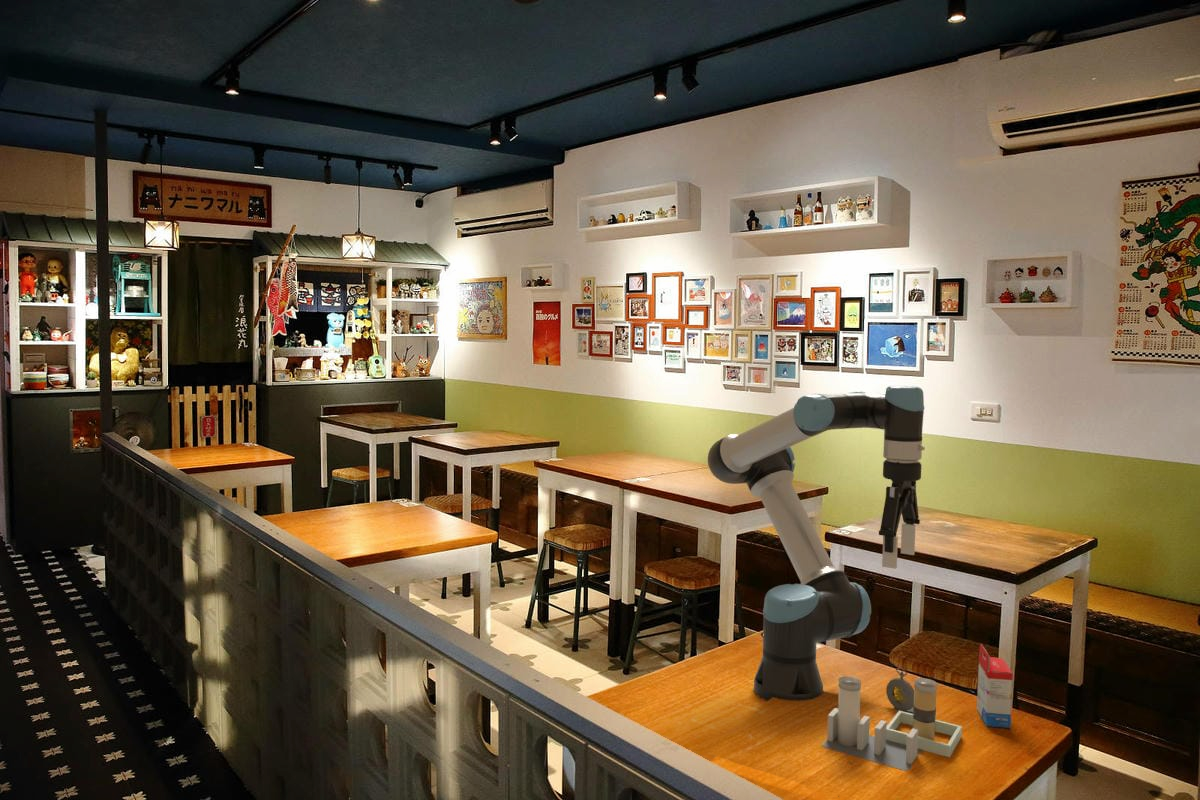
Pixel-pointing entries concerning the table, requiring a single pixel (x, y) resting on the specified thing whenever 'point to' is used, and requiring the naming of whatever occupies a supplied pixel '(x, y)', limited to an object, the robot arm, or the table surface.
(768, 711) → the table surface
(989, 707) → the ink box
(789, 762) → the table surface
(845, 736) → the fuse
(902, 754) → the fuse board
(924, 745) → the parts tray
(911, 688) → the pocket watch
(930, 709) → the cylinder
